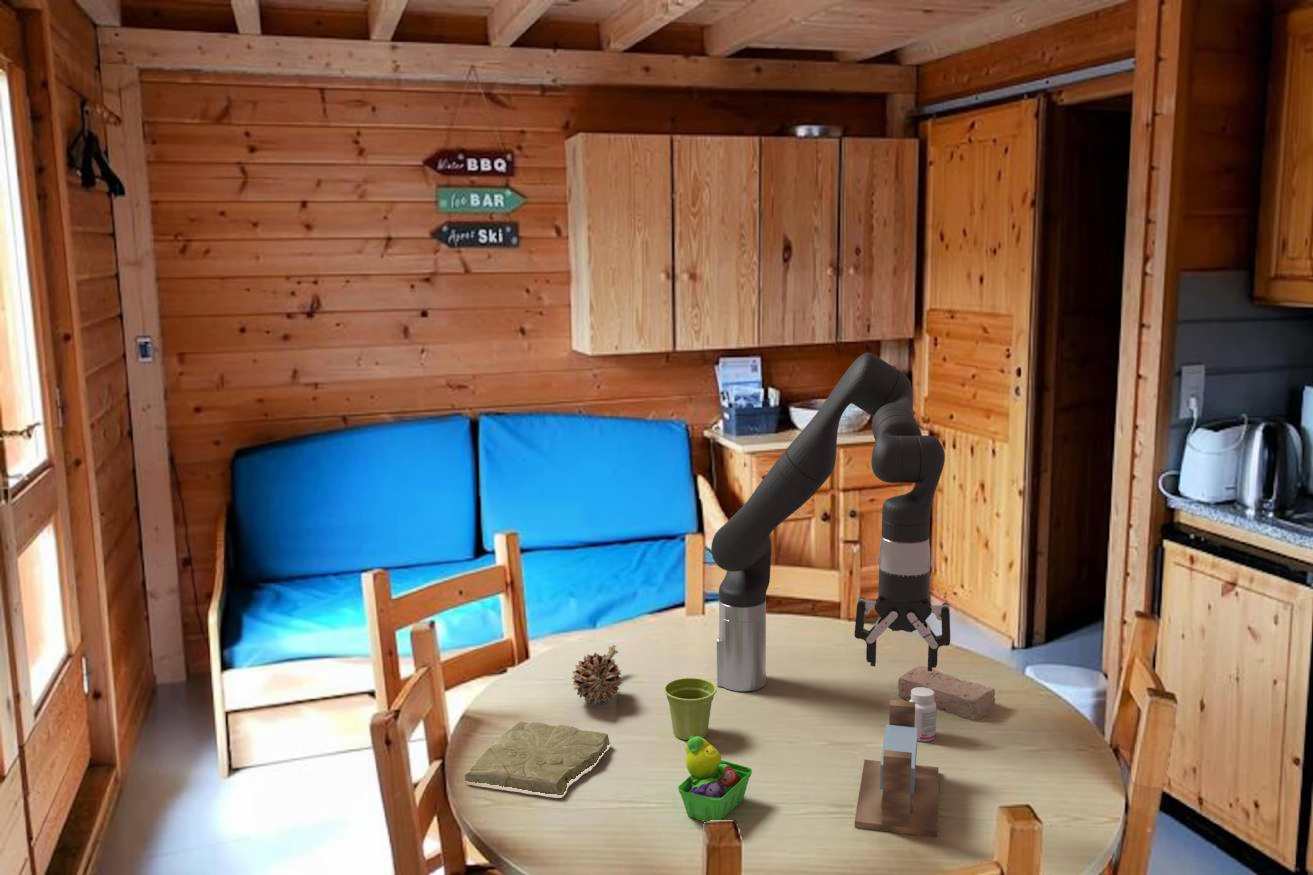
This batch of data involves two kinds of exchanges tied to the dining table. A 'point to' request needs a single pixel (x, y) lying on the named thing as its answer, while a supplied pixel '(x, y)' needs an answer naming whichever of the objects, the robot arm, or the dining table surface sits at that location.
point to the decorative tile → (538, 757)
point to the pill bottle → (924, 713)
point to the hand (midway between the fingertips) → (901, 666)
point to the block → (900, 746)
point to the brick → (949, 692)
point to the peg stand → (898, 788)
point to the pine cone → (597, 677)
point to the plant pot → (690, 706)
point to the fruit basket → (711, 782)
